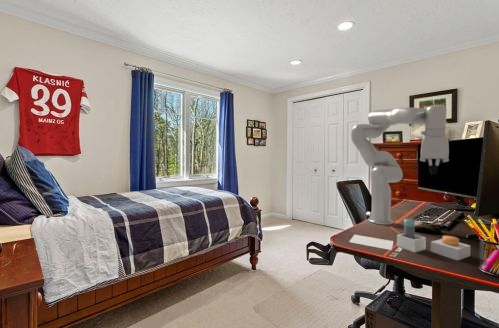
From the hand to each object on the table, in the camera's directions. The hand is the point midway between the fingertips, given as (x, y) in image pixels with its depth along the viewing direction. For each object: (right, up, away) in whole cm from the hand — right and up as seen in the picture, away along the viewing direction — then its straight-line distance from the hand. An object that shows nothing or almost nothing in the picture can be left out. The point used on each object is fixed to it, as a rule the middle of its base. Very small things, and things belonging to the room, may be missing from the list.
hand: (433, 174), depth 115 cm
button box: (-6, -30, -18) cm, 35 cm away
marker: (-18, -29, -12) cm, 36 cm away
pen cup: (-18, -30, -12) cm, 37 cm away
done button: (-6, -26, -18) cm, 32 cm away
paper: (-31, -29, -5) cm, 43 cm away
